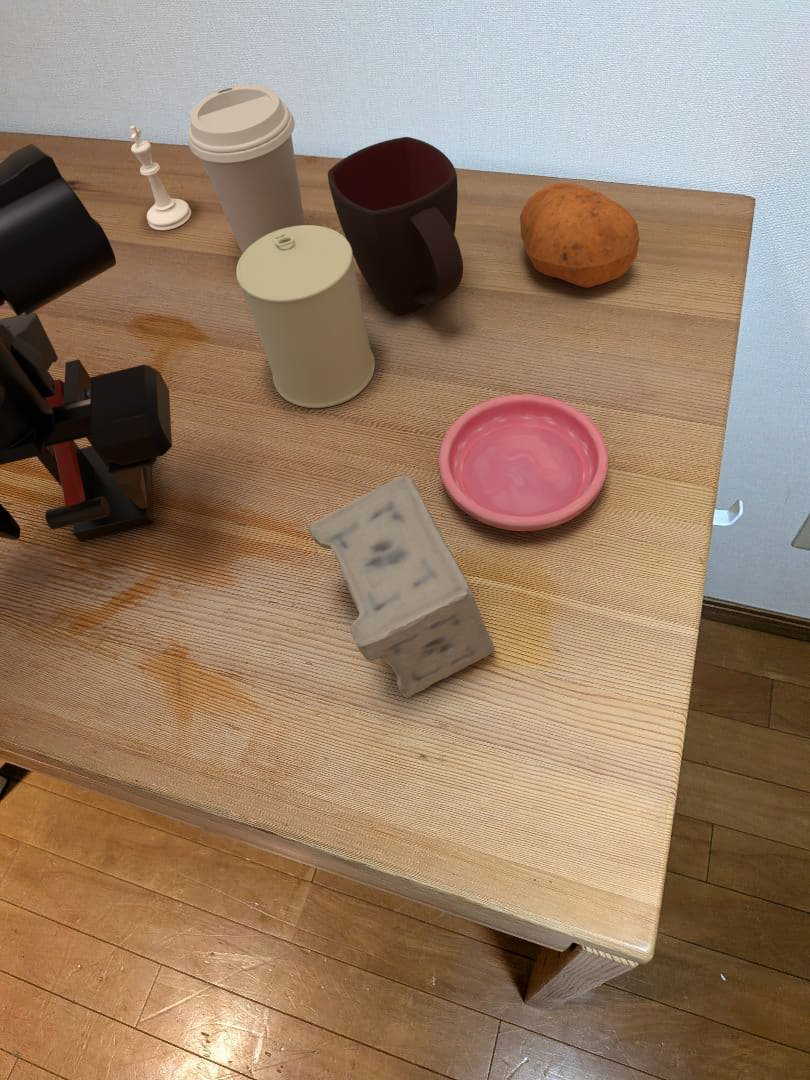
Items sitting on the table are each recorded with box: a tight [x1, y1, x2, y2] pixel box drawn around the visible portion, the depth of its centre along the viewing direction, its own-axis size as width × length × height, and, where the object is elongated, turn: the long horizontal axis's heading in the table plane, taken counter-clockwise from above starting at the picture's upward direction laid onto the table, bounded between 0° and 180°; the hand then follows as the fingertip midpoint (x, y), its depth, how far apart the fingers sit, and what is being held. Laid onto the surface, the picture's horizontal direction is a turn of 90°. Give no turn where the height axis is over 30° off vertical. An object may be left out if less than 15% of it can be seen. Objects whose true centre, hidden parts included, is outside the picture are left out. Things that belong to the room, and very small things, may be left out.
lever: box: [44, 378, 110, 531], centre depth 53 cm, size 10×4×2 cm, turn 13°
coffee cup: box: [187, 84, 306, 254], centre depth 70 cm, size 10×10×15 cm
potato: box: [519, 182, 640, 288], centre depth 67 cm, size 9×11×8 cm
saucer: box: [438, 393, 609, 532], centre depth 56 cm, size 12×12×3 cm
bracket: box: [36, 358, 154, 542], centre depth 57 cm, size 9×6×12 cm, turn 12°
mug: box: [327, 136, 464, 316], centre depth 65 cm, size 10×14×12 cm
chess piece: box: [129, 125, 192, 231], centre depth 79 cm, size 5×5×10 cm
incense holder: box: [308, 474, 496, 699], centre depth 47 cm, size 10×8×10 cm
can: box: [235, 224, 376, 409], centre depth 61 cm, size 9×9×12 cm
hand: (81, 518), depth 53 cm, fingers open, 9 cm apart
